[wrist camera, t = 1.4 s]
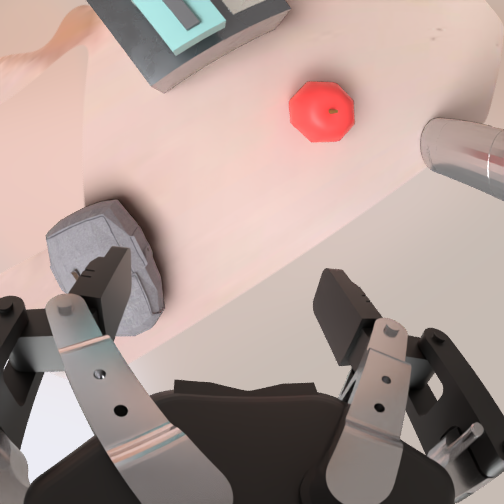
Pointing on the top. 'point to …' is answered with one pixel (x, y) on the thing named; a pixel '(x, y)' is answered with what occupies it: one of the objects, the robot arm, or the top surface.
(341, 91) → the apple
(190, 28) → the bar
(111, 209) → the small grey backpack
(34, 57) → the top surface
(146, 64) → the box
